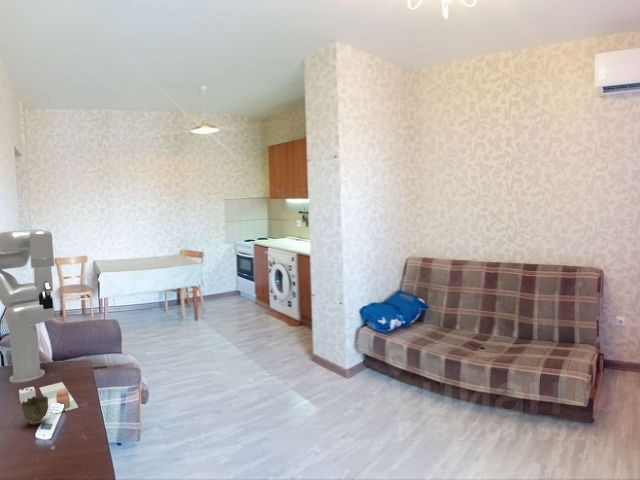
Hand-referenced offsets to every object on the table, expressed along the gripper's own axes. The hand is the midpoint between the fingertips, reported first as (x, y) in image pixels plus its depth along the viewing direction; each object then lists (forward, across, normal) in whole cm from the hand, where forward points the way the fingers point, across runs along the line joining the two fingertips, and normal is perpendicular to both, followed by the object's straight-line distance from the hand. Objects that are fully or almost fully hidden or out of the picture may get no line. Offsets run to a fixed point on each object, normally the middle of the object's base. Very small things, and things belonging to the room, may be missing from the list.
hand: (46, 306), depth 170 cm
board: (+33, +10, 0) cm, 35 cm away
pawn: (+33, +21, 0) cm, 39 cm away
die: (+33, +6, -9) cm, 35 cm away
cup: (+34, +28, -9) cm, 45 cm away
